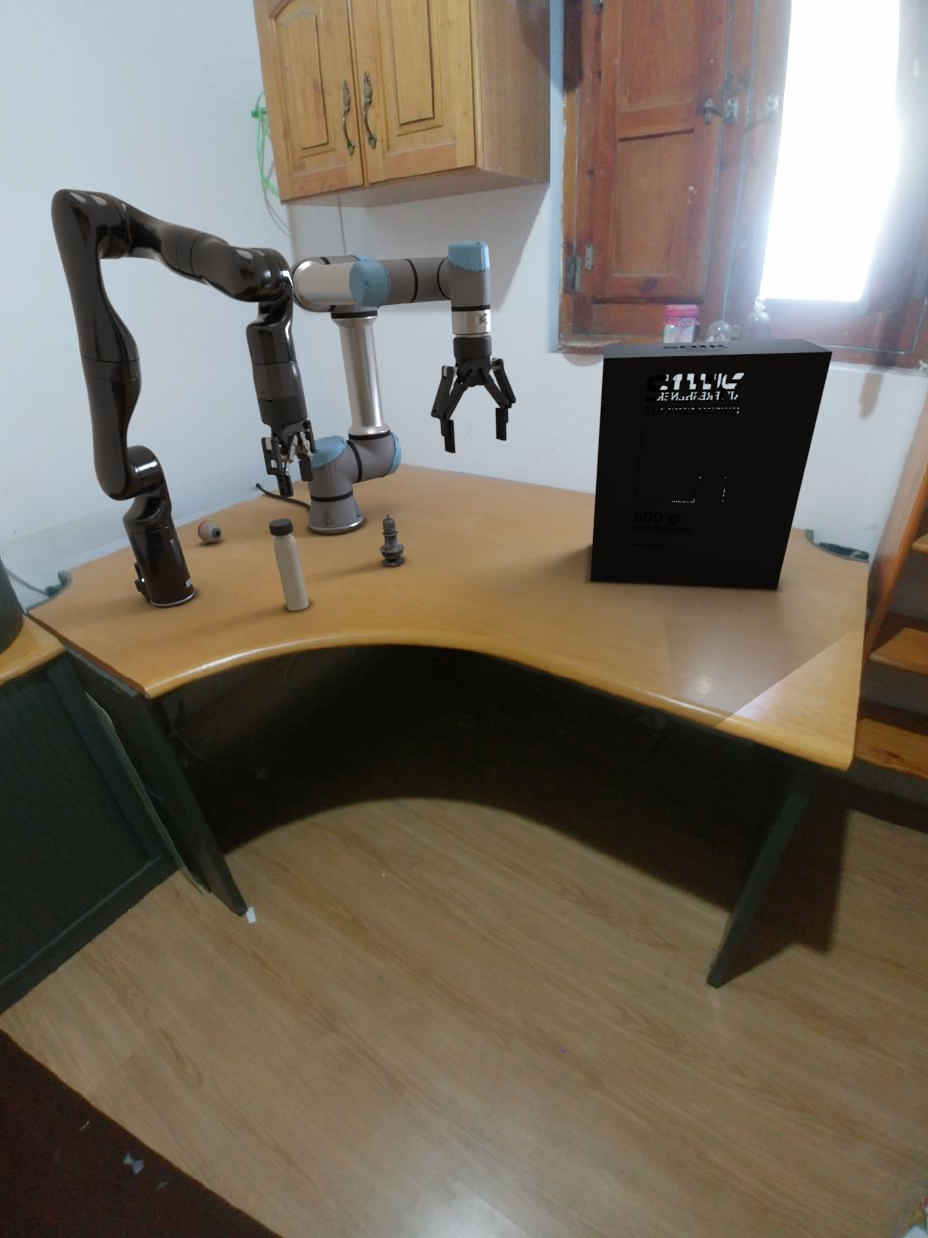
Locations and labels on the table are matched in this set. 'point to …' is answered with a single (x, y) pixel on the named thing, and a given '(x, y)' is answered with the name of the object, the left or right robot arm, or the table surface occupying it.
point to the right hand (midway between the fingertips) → (476, 445)
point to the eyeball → (209, 531)
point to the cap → (281, 527)
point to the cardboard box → (703, 460)
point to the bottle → (290, 572)
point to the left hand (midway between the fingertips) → (298, 488)
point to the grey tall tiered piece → (391, 544)
